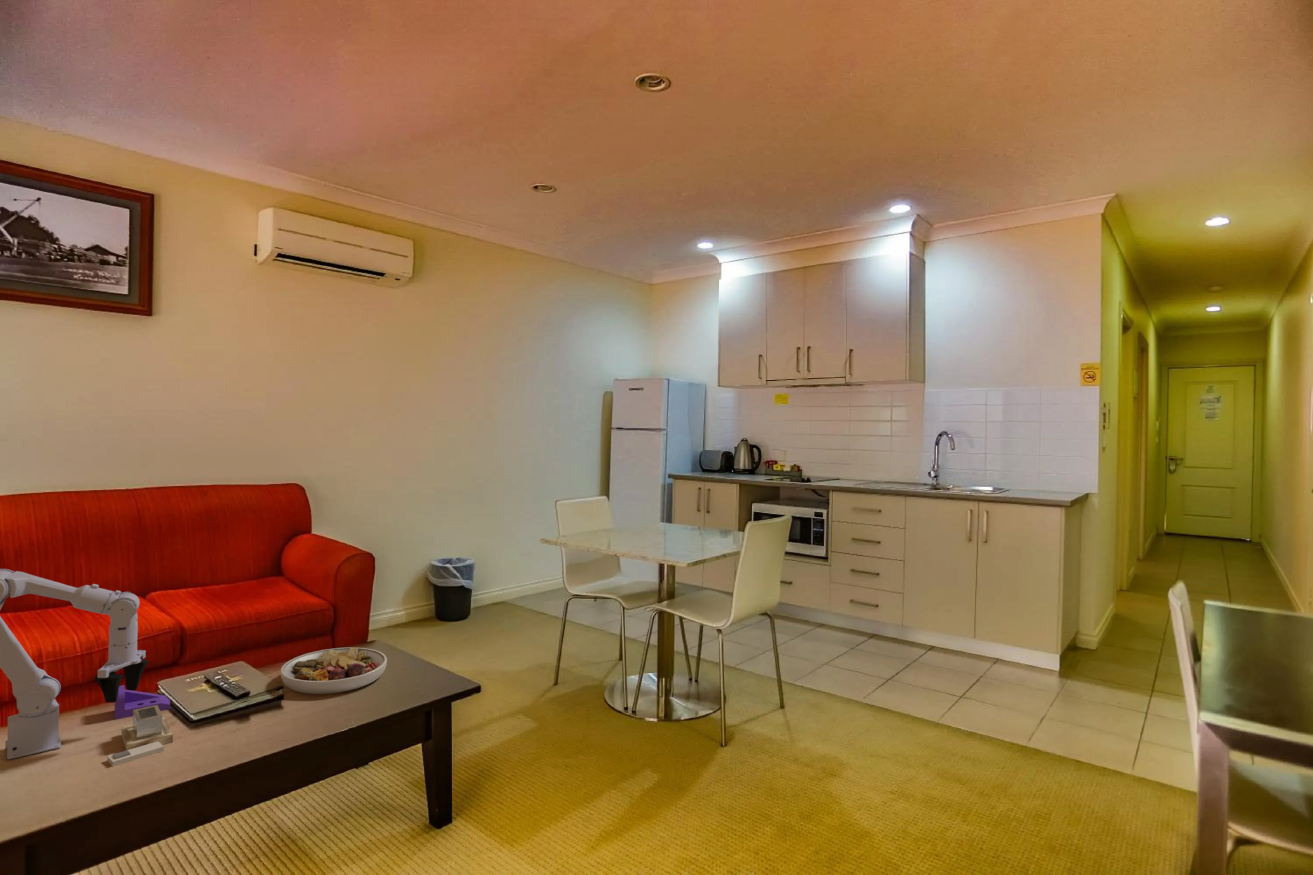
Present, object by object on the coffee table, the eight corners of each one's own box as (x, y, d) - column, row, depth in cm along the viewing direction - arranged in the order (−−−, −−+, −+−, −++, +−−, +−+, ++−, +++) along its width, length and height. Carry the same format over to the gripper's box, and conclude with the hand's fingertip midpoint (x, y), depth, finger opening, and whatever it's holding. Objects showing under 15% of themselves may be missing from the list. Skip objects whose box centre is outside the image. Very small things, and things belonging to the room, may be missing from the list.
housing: (136, 741, 168) (137, 720, 168) (132, 729, 174) (133, 709, 174) (161, 735, 171) (162, 715, 171) (157, 723, 177) (157, 704, 177)
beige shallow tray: (127, 752, 165) (127, 744, 165) (121, 734, 174) (121, 726, 174) (172, 741, 171) (172, 733, 171) (165, 724, 180) (165, 717, 180)
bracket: (114, 720, 182) (115, 695, 182) (114, 711, 187) (114, 686, 187) (170, 709, 190) (170, 685, 189) (168, 701, 195) (168, 677, 195)
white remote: (163, 752, 167) (163, 744, 167) (112, 768, 159) (112, 759, 159) (157, 747, 169) (158, 739, 169) (107, 762, 161) (107, 754, 161)
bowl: (261, 681, 212) (261, 655, 211) (352, 655, 236) (352, 632, 236) (313, 707, 194) (314, 679, 194) (406, 676, 219) (406, 652, 219)
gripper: (119, 652, 167) (118, 707, 167) (158, 633, 181) (156, 684, 182) (89, 651, 166) (87, 707, 166) (129, 633, 181) (128, 684, 181)
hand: (121, 695), depth 174 cm, fingers open, 7 cm apart
